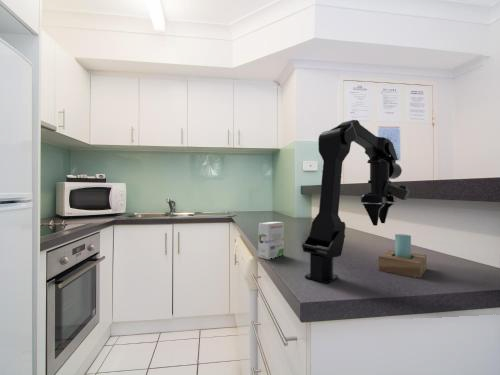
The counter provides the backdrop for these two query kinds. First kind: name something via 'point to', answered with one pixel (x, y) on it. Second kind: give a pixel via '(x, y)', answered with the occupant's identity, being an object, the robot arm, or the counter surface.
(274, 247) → the ink box
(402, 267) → the socket block
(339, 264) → the counter surface
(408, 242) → the peg
